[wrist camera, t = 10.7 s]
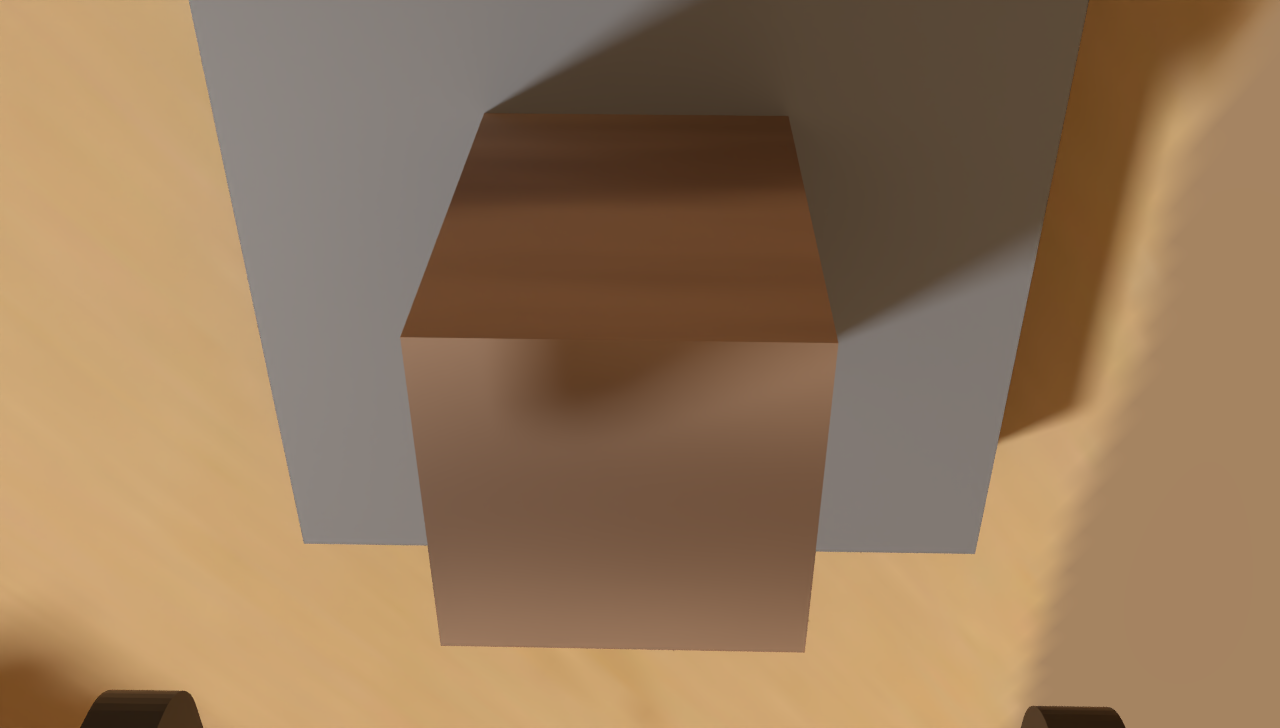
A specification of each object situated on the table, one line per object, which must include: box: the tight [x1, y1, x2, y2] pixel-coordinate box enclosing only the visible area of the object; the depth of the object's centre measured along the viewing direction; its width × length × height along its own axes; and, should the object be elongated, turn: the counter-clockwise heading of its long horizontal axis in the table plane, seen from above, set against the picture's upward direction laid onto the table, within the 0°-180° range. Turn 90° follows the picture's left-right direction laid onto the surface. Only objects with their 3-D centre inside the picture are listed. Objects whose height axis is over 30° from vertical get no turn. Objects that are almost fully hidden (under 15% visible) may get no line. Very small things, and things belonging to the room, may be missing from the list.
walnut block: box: [400, 113, 838, 652], centre depth 18 cm, size 5×5×7 cm
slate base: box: [189, 0, 1089, 554], centre depth 22 cm, size 14×14×3 cm
